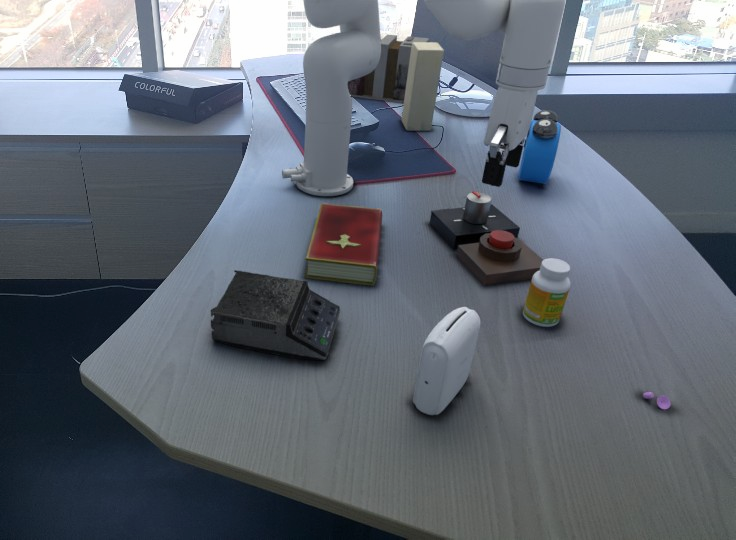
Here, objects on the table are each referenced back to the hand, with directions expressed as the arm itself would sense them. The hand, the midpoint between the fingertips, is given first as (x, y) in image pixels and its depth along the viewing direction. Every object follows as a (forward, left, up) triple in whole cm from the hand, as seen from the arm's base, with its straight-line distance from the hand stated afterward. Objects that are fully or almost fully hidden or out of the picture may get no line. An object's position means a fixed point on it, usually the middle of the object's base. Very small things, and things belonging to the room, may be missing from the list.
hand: (500, 174), depth 110 cm
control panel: (0, +5, -15) cm, 15 cm away
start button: (-1, -5, -11) cm, 12 cm away
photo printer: (-26, -34, -15) cm, 45 cm away
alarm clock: (+25, +24, -15) cm, 38 cm away
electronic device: (-44, -16, -15) cm, 49 cm away
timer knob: (0, +5, -11) cm, 13 cm away
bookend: (+17, +92, -15) cm, 95 cm away
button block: (-1, -7, -15) cm, 16 cm away
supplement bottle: (-3, -22, -15) cm, 26 cm away
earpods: (+1, -42, -15) cm, 44 cm away
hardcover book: (-26, +4, -15) cm, 30 cm away
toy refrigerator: (+15, +62, -15) cm, 66 cm away
